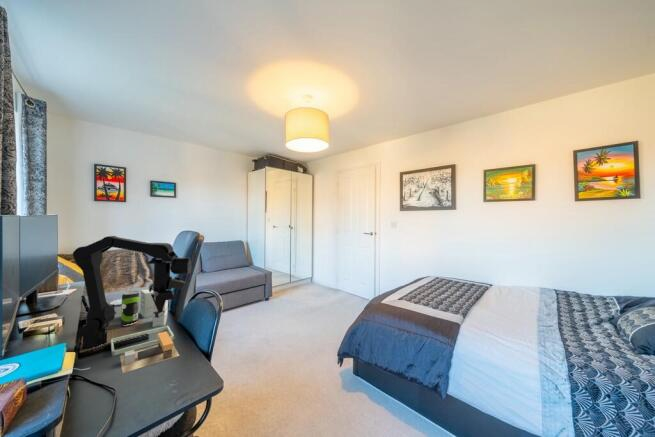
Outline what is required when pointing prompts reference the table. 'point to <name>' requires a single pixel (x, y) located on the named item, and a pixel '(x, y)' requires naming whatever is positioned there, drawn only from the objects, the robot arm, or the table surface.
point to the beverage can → (129, 307)
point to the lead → (141, 354)
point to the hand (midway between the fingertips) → (160, 312)
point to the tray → (139, 344)
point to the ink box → (160, 315)
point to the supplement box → (146, 303)
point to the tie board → (148, 359)
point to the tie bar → (165, 341)
